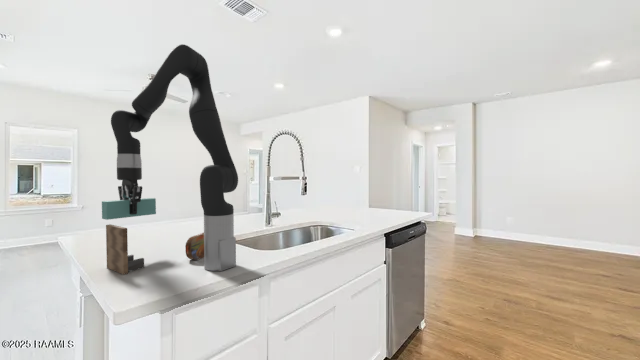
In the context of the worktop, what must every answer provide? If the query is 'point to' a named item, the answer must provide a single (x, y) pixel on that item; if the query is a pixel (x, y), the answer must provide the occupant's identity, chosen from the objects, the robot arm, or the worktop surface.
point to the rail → (127, 208)
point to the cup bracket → (120, 251)
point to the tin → (195, 247)
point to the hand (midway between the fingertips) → (130, 213)
